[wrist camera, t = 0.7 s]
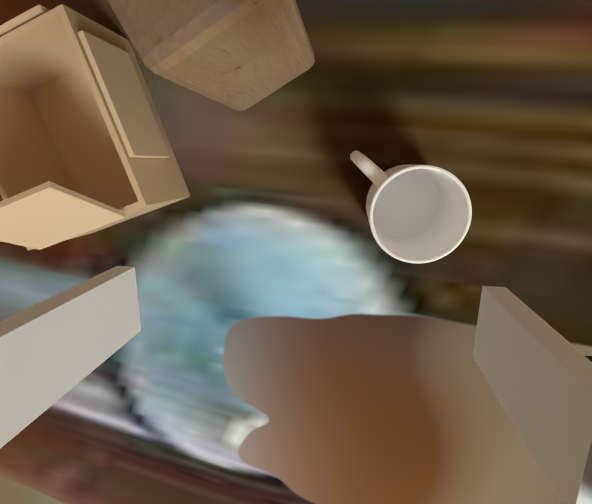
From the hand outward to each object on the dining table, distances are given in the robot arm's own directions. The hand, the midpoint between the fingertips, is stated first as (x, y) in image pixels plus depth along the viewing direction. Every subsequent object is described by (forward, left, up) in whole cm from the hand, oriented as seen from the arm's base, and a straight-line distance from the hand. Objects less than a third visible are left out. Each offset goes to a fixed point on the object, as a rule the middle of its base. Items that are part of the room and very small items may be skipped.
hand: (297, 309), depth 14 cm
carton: (-16, -22, -30) cm, 40 cm away
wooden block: (-19, -2, -30) cm, 36 cm away
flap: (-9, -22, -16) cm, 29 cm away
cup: (0, +7, -30) cm, 31 cm away
